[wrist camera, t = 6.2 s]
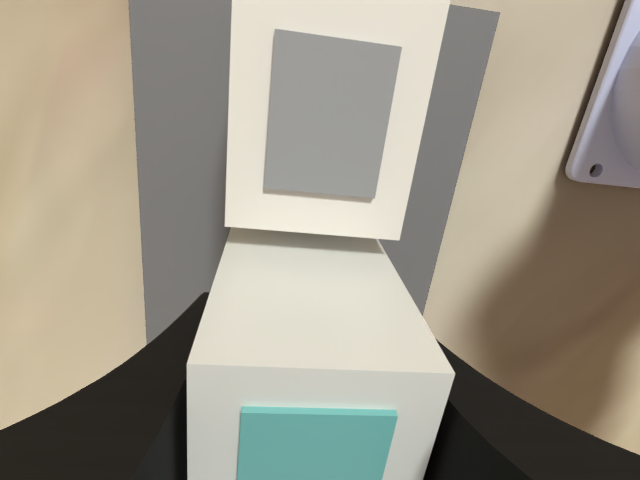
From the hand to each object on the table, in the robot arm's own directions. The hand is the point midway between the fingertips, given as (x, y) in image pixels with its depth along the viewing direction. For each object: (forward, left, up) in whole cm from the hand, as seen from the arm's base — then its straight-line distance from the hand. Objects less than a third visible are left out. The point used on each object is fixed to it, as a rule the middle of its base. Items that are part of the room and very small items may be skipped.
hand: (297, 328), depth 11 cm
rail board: (0, 0, -5) cm, 5 cm away
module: (0, 0, -2) cm, 2 cm away
